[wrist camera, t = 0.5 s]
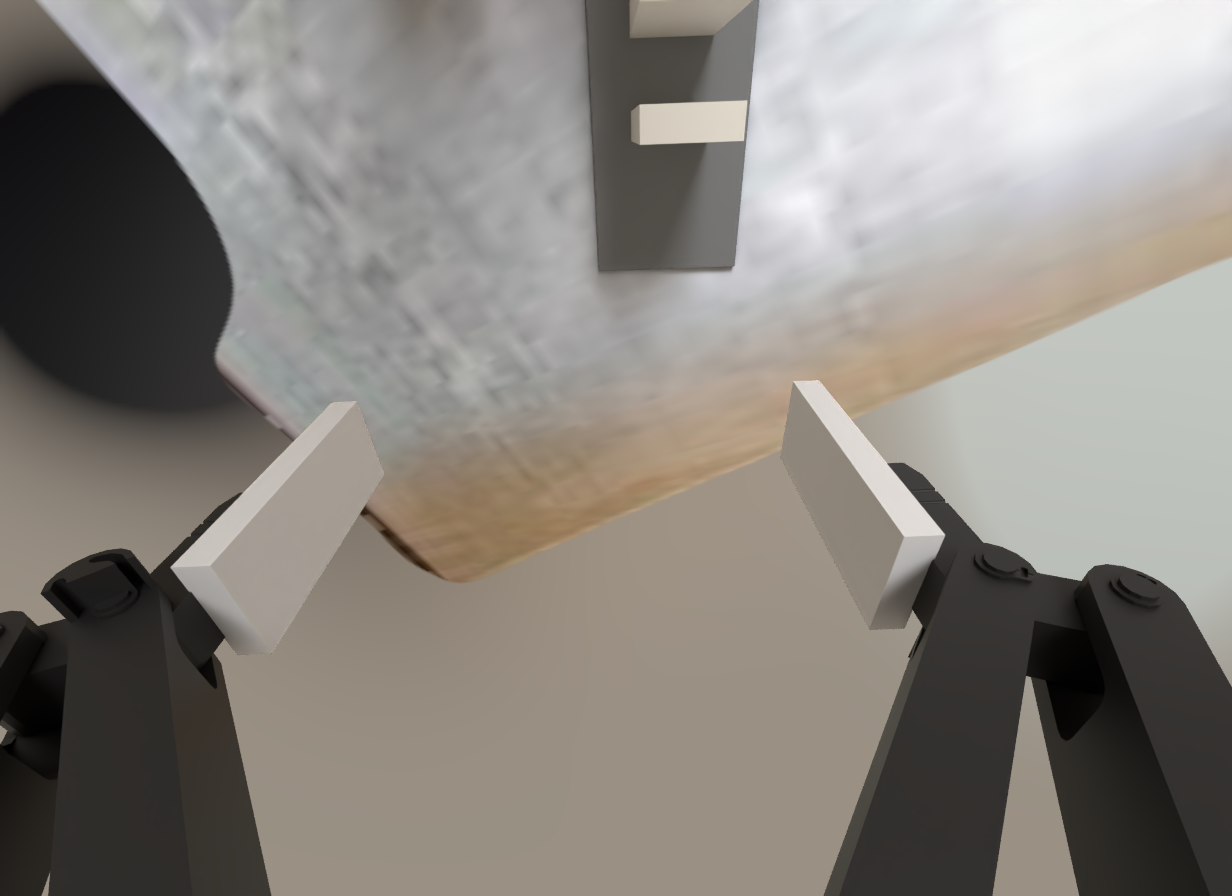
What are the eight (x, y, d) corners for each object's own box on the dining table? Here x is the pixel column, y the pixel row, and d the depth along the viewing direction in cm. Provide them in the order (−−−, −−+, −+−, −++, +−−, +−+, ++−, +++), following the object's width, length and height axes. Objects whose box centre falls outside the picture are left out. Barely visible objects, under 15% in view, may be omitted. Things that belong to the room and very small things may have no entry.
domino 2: (630, 111, 31) (639, 104, 23) (709, 108, 31) (747, 100, 23) (631, 141, 32) (639, 144, 24) (708, 138, 32) (743, 140, 24)
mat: (569, -348, 22) (568, -355, 22) (790, -357, 22) (793, -365, 22) (599, 269, 37) (599, 271, 37) (733, 265, 37) (734, 266, 37)
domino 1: (629, 2, 29) (639, -51, 20) (716, -1, 29) (761, -56, 20) (629, 38, 29) (639, 1, 21) (713, 35, 29) (756, -4, 21)
